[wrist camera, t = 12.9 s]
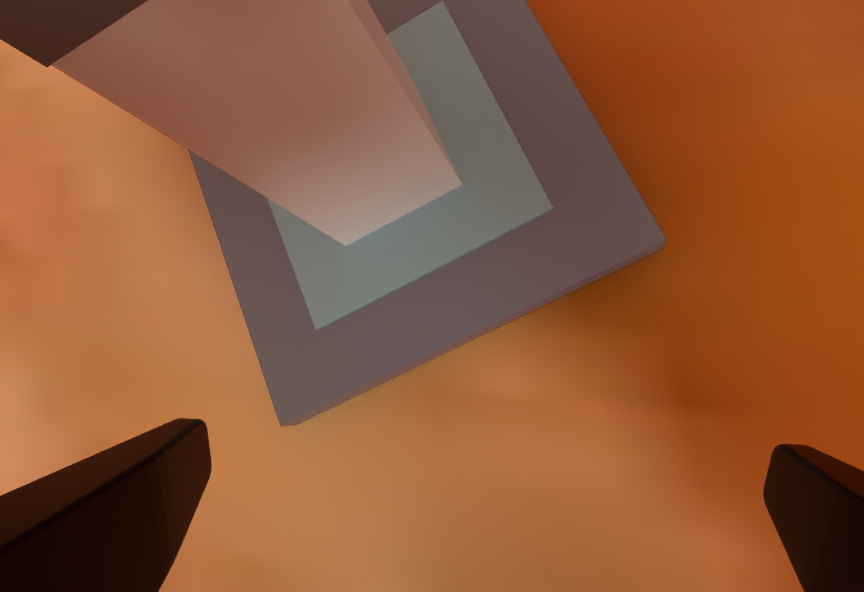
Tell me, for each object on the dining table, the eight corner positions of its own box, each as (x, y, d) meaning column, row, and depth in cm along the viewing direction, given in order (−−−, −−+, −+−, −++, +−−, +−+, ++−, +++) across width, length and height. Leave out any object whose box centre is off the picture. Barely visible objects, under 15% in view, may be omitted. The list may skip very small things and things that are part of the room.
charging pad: (663, 247, 18) (667, 238, 17) (295, 425, 20) (278, 426, 19) (481, -62, 22) (475, -86, 21) (190, 118, 24) (171, 105, 23)
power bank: (464, 185, 19) (223, -206, 7) (344, 248, 20) (-63, 0, 8) (412, 76, 20) (131, -417, 8) (302, 139, 21) (-105, -220, 9)
